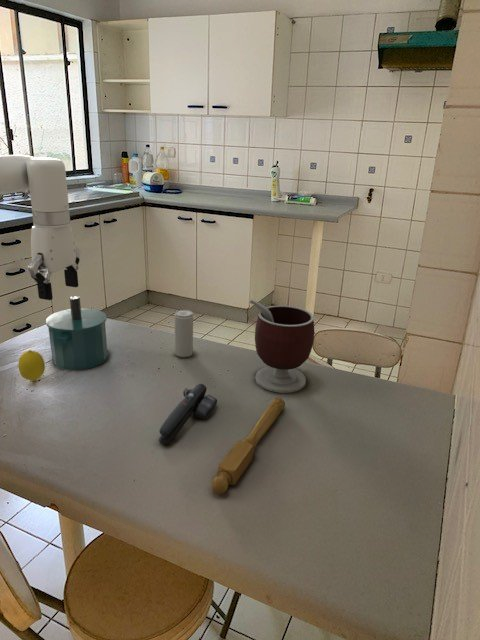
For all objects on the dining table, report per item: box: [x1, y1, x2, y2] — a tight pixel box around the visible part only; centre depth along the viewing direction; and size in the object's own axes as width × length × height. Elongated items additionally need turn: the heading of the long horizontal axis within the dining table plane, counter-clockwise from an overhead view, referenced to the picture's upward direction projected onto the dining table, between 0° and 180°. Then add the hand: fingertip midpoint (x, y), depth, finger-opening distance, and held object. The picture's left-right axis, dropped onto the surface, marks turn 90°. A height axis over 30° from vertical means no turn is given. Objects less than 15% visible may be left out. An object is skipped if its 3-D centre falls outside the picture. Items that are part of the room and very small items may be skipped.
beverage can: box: [174, 309, 194, 359], centre depth 122 cm, size 5×5×12 cm
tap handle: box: [210, 397, 286, 495], centre depth 89 cm, size 3×3×30 cm
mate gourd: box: [249, 299, 315, 394], centre depth 110 cm, size 16×14×20 cm
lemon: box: [17, 349, 46, 382], centre depth 107 cm, size 6×6×8 cm
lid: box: [45, 295, 108, 332], centre depth 115 cm, size 14×14×7 cm
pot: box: [47, 322, 109, 371], centre depth 118 cm, size 13×19×10 cm
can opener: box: [158, 383, 218, 445], centre depth 94 cm, size 18×7×6 cm, turn 154°
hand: (59, 292), depth 107 cm, fingers open, 9 cm apart
